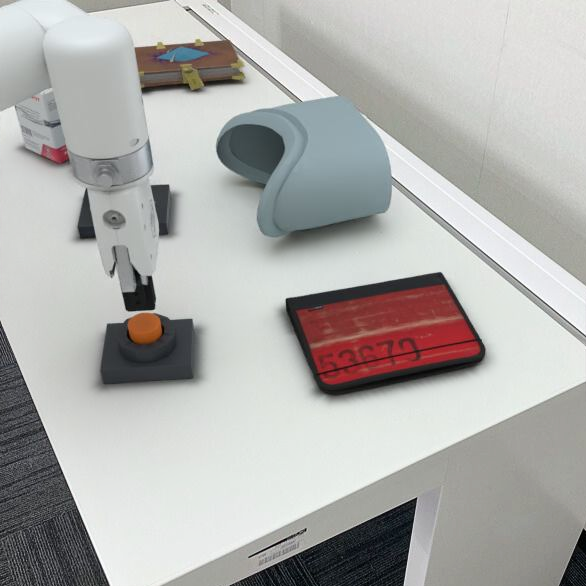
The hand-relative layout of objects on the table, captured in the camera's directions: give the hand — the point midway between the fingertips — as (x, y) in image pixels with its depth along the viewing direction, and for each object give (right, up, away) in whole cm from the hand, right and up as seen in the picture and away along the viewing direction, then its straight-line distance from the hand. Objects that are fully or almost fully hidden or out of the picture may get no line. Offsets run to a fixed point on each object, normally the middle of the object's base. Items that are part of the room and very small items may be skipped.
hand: (141, 306), depth 87 cm
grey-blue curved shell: (+16, +17, +30) cm, 38 cm away
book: (-10, +47, +61) cm, 77 cm away
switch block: (0, -6, +5) cm, 8 cm away
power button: (0, -3, +3) cm, 4 cm away
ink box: (-24, +27, +40) cm, 54 cm away
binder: (+27, -3, +9) cm, 29 cm away
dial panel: (-9, +14, +27) cm, 31 cm away
